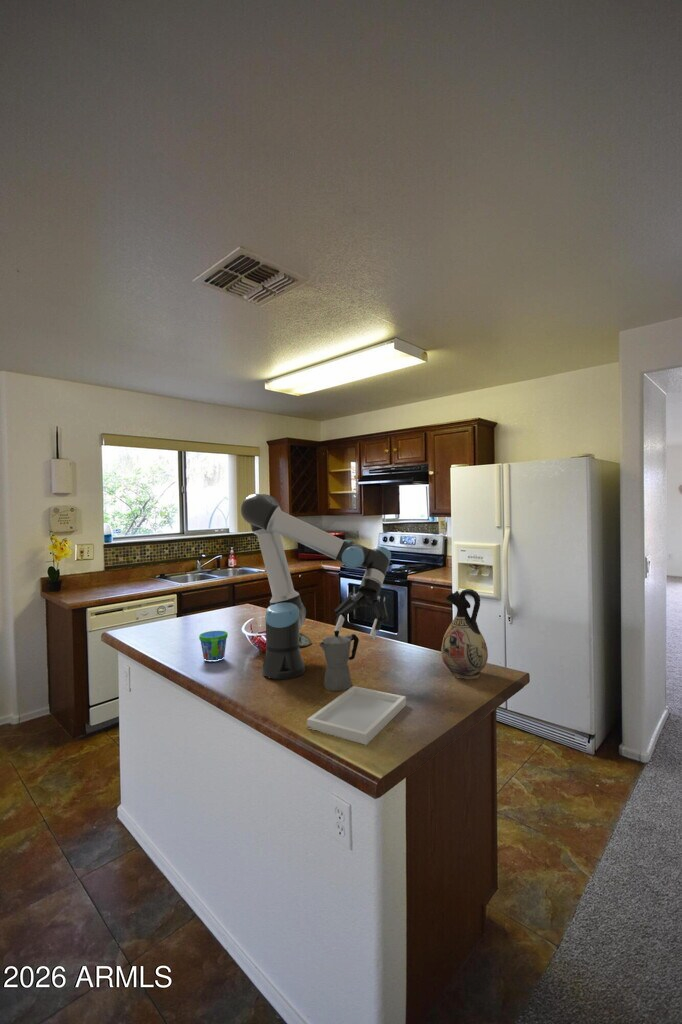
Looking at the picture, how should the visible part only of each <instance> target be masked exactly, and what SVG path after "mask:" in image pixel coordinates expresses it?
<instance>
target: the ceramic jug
mask: <svg viewBox="0 0 682 1024" xmlns="http://www.w3.org/2000/svg"><path fill="white" fill-rule="evenodd" d="M466 596H470V597H472V598H473V601H474V604H473V608H472V609H473V610H472V613H471V615H470V614H469V612H468V609H470V608H471V603H470V602H469V600H468V599H467V598H466ZM444 600H445V601H446V602H447V603H450V604H452V605H454V606H455V607H456V615H455V617H454V618H453V620H452V621H451V623H450V624H449V626H448V628H447V629H446V631H445V633H444V635H443V639H442V644H441V647H440V648H441V649H440V650H441V651H440V653H441V659H442V661H443V664H444V665H445V666H446V668H447V669H449V671H450V673H452V674H451V676H452V675H453V677H454V676H455V677H454V678H457V677H459V678H465V679H464V680H472V679H471V678H474V679H478V678H480V675H481V671H482V670H483V669H484V668H485V666H487V662H488V657H489V652H488V647H487V643H486V640H485V638H484V636H483V634H482V633H481V631H480V629H479V625H478V622H477V617H478V615H479V610H480V607H481V598H480V595H479V593H478V592H477V591H476V590H474V589H472V588H466V589H463V590H461V591H460V592H459V591H458V590H456V591H454V593H453V592H451V593H449V594H448V595H447V596H446V598H445V599H444ZM459 678H458V679H459Z"/></svg>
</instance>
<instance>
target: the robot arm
mask: <svg viewBox="0 0 682 1024" xmlns="http://www.w3.org/2000/svg"><path fill="white" fill-rule="evenodd" d="M240 514H241V516H242V519H244V521H245V522H246V523H248V524H249V525H250V528H251V531H252V534H254V535H256V536H257V540H258V544H259V547H260V552H261V556H262V560H263V563H264V564H263V565H264V568H265V572H266V575H267V579H268V584H269V587H270V591H271V598H270V600H269V604H270V605H269V606H268V607H267V608H266V610H265V616H264V618H265V639H266V640H265V642H266V645H265V647H266V649H265V650H266V651H265V655H264V657H263V661H262V666H261V675H262V674H263V675H264V676H267V677H270V678H275V679H274V680H289V678H290V679H293V678H298V677H300V676H301V675H303V674H304V673H305V671H306V667H305V666H306V665H305V662H304V659H303V656H302V653H301V651H300V647H299V633H300V629H301V627H302V626H303V625H304V624H305V621H306V618H307V610H306V607H305V605H304V603H303V602H302V600H301V596H300V593H299V592H298V591H296V590H295V589H294V584H293V580H292V577H291V571H290V568H289V564H288V561H287V556H286V552H285V548H284V544H283V540H282V536H284V537H287V538H288V539H290V540H293V541H295V542H297V543H299V544H301V545H304V546H305V547H308V548H309V549H312V550H314V551H317V552H318V553H319V554H323V555H324V556H327V557H329V558H331V559H333V560H336V561H337V562H339V563H341V564H343V565H344V566H345V567H346V568H349V569H352V570H353V569H357V568H359V567H362V568H365V572H364V574H363V577H362V579H361V582H360V585H359V588H358V592H357V593H353V591H349V593H348V594H347V597H346V598H345V599H344V600H343V601H342V602H341V603H340V604H339V605H338V606H337V607H336V608H335V609H334V611H333V612H334V614H335V616H336V619H335V622H334V623H335V627H334V629H333V632H334V631H339V634H341V630H342V628H343V625H344V622H345V617H346V616H347V615H349V614H350V613H351V612H353V611H355V610H356V609H358V608H360V607H362V608H370V607H371V609H372V610H373V612H374V614H375V616H376V618H374V620H373V624H372V627H371V630H370V634H369V638H370V639H371V641H375V639H376V636H377V633H378V631H380V630H381V628H382V624H383V623H384V622H385V623H387V622H389V615H388V611H387V606H386V600H387V599H386V597H385V594H382V593H381V590H382V586H383V583H384V581H385V578H386V575H387V571H388V568H389V566H390V562H391V558H392V553H391V552H392V551H390V550H389V549H388V548H387V547H384V546H379V545H378V546H375V547H374V548H373V549H372V548H369V547H366V546H364V545H361V544H359V543H358V542H355V541H353V540H349V539H341V538H340V537H337V536H335V535H333V534H331V533H329V532H327V531H325V530H323V529H321V528H318V527H316V526H314V525H312V524H310V523H308V522H306V521H304V520H301V519H299V518H297V517H295V516H294V515H291V514H289V513H287V512H284V511H283V510H282V509H281V507H280V504H279V502H278V501H277V499H275V497H273V496H272V495H269V494H263V493H262V494H261V493H253V494H250V495H248V496H247V497H246V498H244V499H243V500H242V503H241V506H240ZM281 535H282V536H281ZM380 593H381V595H380ZM377 602H379V603H380V609H381V614H382V616H381V614H380V612H379V610H378V608H377V606H376V605H375V604H376V603H377ZM263 675H262V676H263ZM264 676H263V677H264ZM267 677H266V678H267ZM270 678H269V679H270Z"/></svg>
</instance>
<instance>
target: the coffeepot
mask: <svg viewBox="0 0 682 1024" xmlns="http://www.w3.org/2000/svg"><path fill="white" fill-rule="evenodd" d="M333 633H334V635H332V636H327V637H325V638H323V639H322V641H321V642H320V643H319V645H318V646H319V647H321V649H322V650H323V652H324V658H325V661H326V666H325V672H324V679H323V686H324V688H325V689H326V690H327V691H331V690H332V691H331V692H343V691H347V690H348V689H350V688H351V687H353V686H352V685H353V684H352V680H351V675H350V669H349V665H348V661H349V660H350V661H351V660H354V659H355V658H356V653H357V649H358V645H359V643H360V642H359V641H360V639H359V637H358V636H357V635H356V634H354V633H352V634H348V635H344V636H343V635H340V633H339V631H334V630H333ZM352 641H353V642H352ZM352 643H353V646H352V650H351V645H352ZM350 650H351V651H350ZM350 653H351V655H350Z"/></svg>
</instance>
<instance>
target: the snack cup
mask: <svg viewBox="0 0 682 1024" xmlns="http://www.w3.org/2000/svg"><path fill="white" fill-rule="evenodd" d="M198 637H199V638H198V639H199V641H200V645H201V646H200V647H201V652H202V657H203V660H204V659H206V660H218V659H222V658H223V657H224V658H225V656H226V655H225V654H226V645H227V638H228V632H227V631H225V630H210V631H205V632H203V633H200V634H199V636H198Z"/></svg>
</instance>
